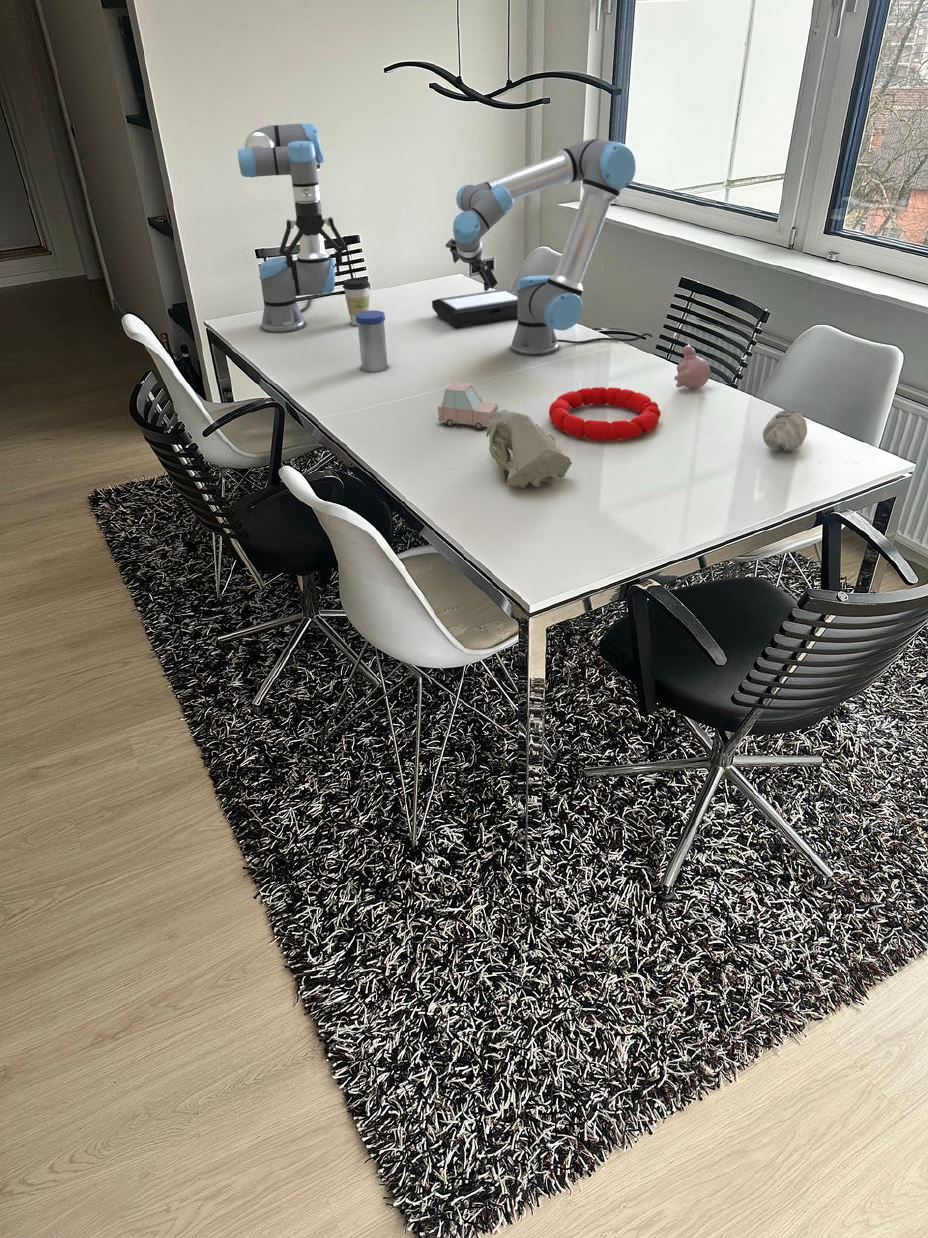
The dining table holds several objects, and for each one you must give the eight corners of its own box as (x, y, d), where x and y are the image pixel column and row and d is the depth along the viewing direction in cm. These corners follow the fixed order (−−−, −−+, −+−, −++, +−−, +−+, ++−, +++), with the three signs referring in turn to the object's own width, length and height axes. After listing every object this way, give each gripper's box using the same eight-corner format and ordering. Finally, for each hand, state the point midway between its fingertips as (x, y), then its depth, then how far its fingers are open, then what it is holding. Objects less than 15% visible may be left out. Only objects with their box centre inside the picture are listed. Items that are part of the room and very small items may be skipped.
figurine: (665, 387, 264) (669, 347, 257) (693, 380, 268) (698, 340, 261) (686, 396, 257) (690, 355, 250) (714, 388, 262) (720, 348, 255)
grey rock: (496, 517, 219) (521, 479, 201) (463, 429, 225) (484, 384, 207) (557, 503, 225) (586, 465, 206) (523, 417, 231) (549, 373, 212)
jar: (392, 368, 285) (388, 316, 276) (370, 373, 282) (365, 321, 272) (379, 361, 291) (374, 310, 282) (357, 367, 287) (352, 315, 278)
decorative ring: (589, 435, 224) (684, 402, 234) (527, 398, 247) (617, 369, 256) (589, 461, 229) (683, 427, 238) (529, 422, 251) (617, 393, 260)
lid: (390, 320, 277) (390, 314, 276) (365, 326, 273) (364, 320, 272) (375, 314, 283) (375, 308, 282) (350, 320, 279) (350, 314, 278)
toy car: (488, 432, 240) (488, 396, 234) (436, 426, 244) (434, 390, 239) (499, 419, 247) (499, 384, 241) (448, 413, 252) (447, 379, 246)
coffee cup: (372, 326, 323) (368, 283, 314) (345, 327, 323) (340, 284, 315) (374, 318, 331) (371, 276, 322) (348, 319, 331) (344, 277, 323)
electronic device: (453, 311, 314) (431, 298, 329) (454, 329, 317) (432, 315, 332) (533, 299, 324) (509, 286, 339) (533, 316, 327) (509, 303, 342)
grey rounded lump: (746, 448, 227) (752, 410, 221) (789, 435, 232) (796, 398, 227) (776, 462, 219) (783, 424, 213) (820, 449, 225) (828, 411, 219)
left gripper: (264, 205, 256) (275, 282, 268) (350, 200, 259) (357, 276, 271) (264, 201, 262) (275, 276, 274) (349, 196, 265) (356, 270, 277)
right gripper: (429, 227, 264) (436, 255, 286) (490, 283, 263) (492, 308, 285) (447, 208, 264) (452, 238, 285) (508, 264, 263) (509, 290, 284)
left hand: (316, 276), depth 273 cm, fingers open, 13 cm apart
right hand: (472, 273), depth 285 cm, fingers open, 13 cm apart
